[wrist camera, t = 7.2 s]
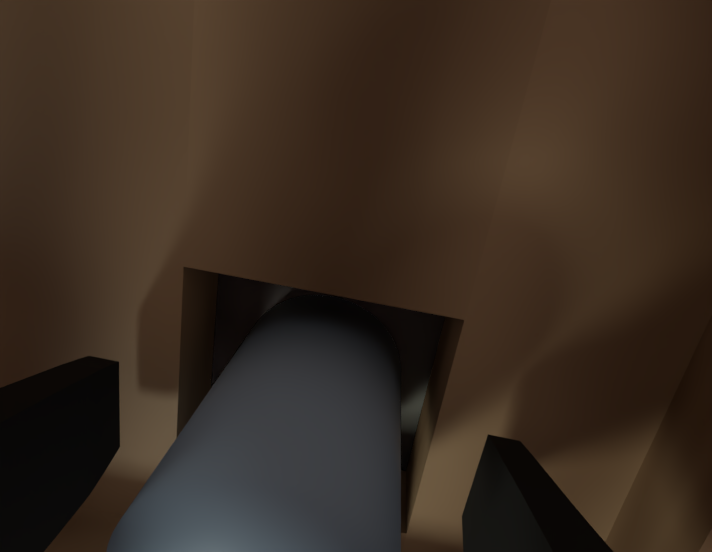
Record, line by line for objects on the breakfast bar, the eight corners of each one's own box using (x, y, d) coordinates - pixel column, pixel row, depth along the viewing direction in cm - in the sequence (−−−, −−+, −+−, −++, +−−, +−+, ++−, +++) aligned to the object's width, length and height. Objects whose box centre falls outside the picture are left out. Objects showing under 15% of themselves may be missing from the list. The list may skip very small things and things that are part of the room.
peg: (242, 423, 13) (115, 671, 7) (246, 285, 11) (93, 454, 6) (389, 444, 12) (381, 718, 7) (411, 306, 11) (422, 503, 6)
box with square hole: (-36, 445, 14) (-199, 569, 10) (-145, -275, 8) (-585, -584, 5) (573, 570, 13) (640, 751, 10) (881, -114, 8) (1323, -322, 4)
